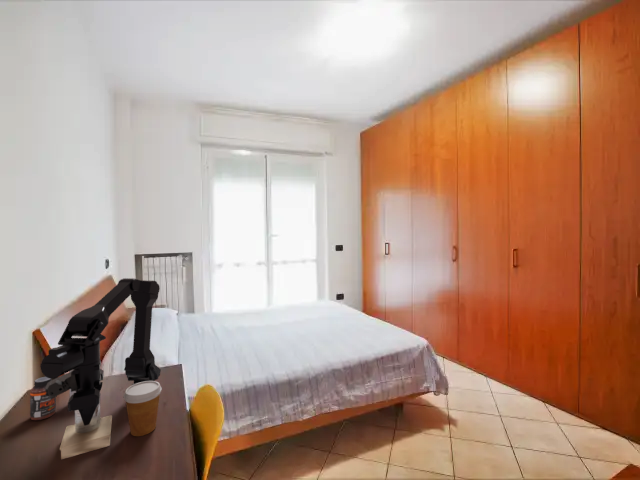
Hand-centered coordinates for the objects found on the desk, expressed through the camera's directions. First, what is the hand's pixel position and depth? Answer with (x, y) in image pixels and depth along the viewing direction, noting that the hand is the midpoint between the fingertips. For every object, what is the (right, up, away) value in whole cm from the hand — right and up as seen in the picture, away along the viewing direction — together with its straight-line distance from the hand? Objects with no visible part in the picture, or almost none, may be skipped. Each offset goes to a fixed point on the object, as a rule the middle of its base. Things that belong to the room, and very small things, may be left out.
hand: (88, 419), depth 85 cm
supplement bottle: (-22, -6, +12) cm, 26 cm away
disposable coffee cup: (+12, -6, +5) cm, 14 cm away
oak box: (0, -6, 0) cm, 6 cm away
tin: (0, -2, 0) cm, 2 cm away
